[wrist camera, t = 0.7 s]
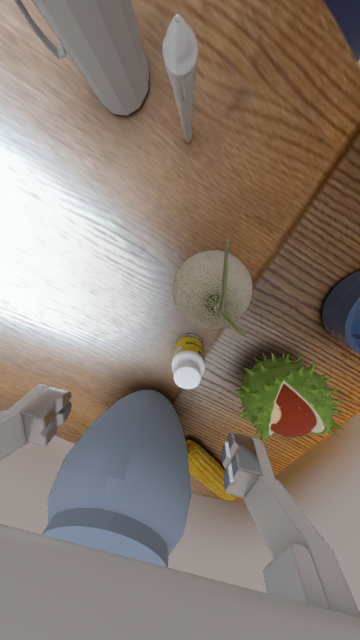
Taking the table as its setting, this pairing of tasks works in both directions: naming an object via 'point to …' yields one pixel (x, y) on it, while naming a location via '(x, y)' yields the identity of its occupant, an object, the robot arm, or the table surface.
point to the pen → (181, 68)
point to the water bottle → (99, 47)
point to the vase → (125, 482)
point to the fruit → (213, 289)
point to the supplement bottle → (188, 361)
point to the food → (207, 470)
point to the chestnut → (287, 398)
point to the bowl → (344, 312)
